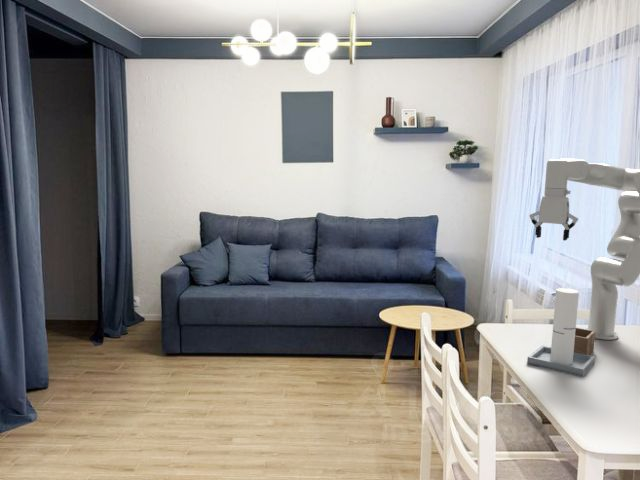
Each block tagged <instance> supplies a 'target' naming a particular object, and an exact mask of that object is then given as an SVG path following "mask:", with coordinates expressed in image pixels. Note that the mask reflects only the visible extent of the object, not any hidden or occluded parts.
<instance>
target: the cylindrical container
mask: <svg viewBox="0 0 640 480" xmlns="http://www.w3.org/2000/svg"><path fill="white" fill-rule="evenodd" d="M579 294H580V292H579V290H577V289H571V288H565V287H564V288H563V287H562V288H561V287H560V288H556V289H555V298H554V299H555V300H554V310H553V311H554V312H553V313H554V314H553V323H552V324H553V325H552V332H551V333H552V335H551V345H550V346H551V357H550V361H552V362H557V363H561V364H566V365H571V364H572V363H573V353H574V342H575V330H576V328H577V318H578V317H577V316H578V305H579Z"/></svg>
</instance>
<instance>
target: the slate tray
mask: <svg viewBox="0 0 640 480" xmlns="http://www.w3.org/2000/svg"><path fill="white" fill-rule="evenodd" d="M550 357H551V347H550V346H547V345H541V346H539V348H537V349H536V350H535V351H533V352H532V353H530V354H529V355H528V356H527V362H526V365H530V366H535V367H539V368H541V369H542V368H544V369H548V370H551V371H557V372H560V373H564V374H565V373H566V374H569V375H573V376H577V377H583V378H584V376H586V374H587V373H588V372H589V370H591V368H592V367H593V366H594V365H595V362H596V356H594V355H590V356H589V355H585V354H580V353H575V352H574V353H573V363H572V364H571V365H566V364H561V363H557V362H552V361H550Z"/></svg>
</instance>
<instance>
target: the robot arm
mask: <svg viewBox="0 0 640 480" xmlns="http://www.w3.org/2000/svg"><path fill="white" fill-rule="evenodd" d="M545 170H546V171H545V182H544V193H543V194H544V195H542V197H541V200H540V203H539V204H540V205H539V209H538V211H536V212H534V213H531V214H529V219H530V221H531V223H532V224H533V225H534V227H535V236H536V238H537V239H538V238H541V236H542V227H541V226H542V225H543V224H552V225H553V224H555V225H562V226H563V227H564V230H563V236H562V240H563V241H567V240H568V239H569V238H570V230H571V229H572V228H574V227H575V226H576V224H577V223H578V221H579V218H578V217H576V216H575V215H573V214H571V213H570V199H569V196H568V195H570V194H571V192H572V191H571V190H568V181H569V182H575V183H581V184H586V185H590V186H597V187H602V188H607V189H613V190H617V191H624V192H622V193H621V194H620V195H619V197H618V200H617V204H618V208H619V213H620V222H619V225H618V226H617V228H616V230H615V232H614V233H613V235H612V237H611V239H610V241H609V242H608V244H607V247H606V251H607V254H609V256H610V257H606V256H605V257H604V256H603V257H598V258H596V259H594V260H593V261H592V263H591V265H590V277H591V291H590V293H591V295H590V303H589V305H590V306H589V312H588V313H589V315H588V323H587V324H588V325H587V326H588V327H587V328H585V329H586V330H592V331H595V339H598V340H603V341H604V340H606V341H611V340H612V341H613V340H617V339H618V338H619V334H618V333H617V332H615V328H616V327H615V326H616V315H617V306H618V298H619V292H618V288H617V286H620V287H629V286H632V285H633V284H634V283H636V281H637V279H638V278H639V276H640V169H638V168H635V169H634V168H623V167H620V166H614V165H610V164H606V163H592V162H591V163H589V162H588V161H586V160H584V159H581V158H580V159H577V158H576V159H575V158H560V159H554V158H553V159H552V158H551V159H549V160H547V162H546V169H545ZM536 217H538V218H537V219H538V220H537V219H536ZM570 220H572V221H571V223H569V221H570ZM611 257H613V258H611Z"/></svg>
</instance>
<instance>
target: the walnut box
mask: <svg viewBox="0 0 640 480" xmlns="http://www.w3.org/2000/svg"><path fill="white" fill-rule="evenodd" d="M586 329H587V328H581V327H576V330H575V342H574V352H575V353H580V354H585V355H589V356H592V354H593V353H594V351H595V340H596V338H595V331H592V330H586Z"/></svg>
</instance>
